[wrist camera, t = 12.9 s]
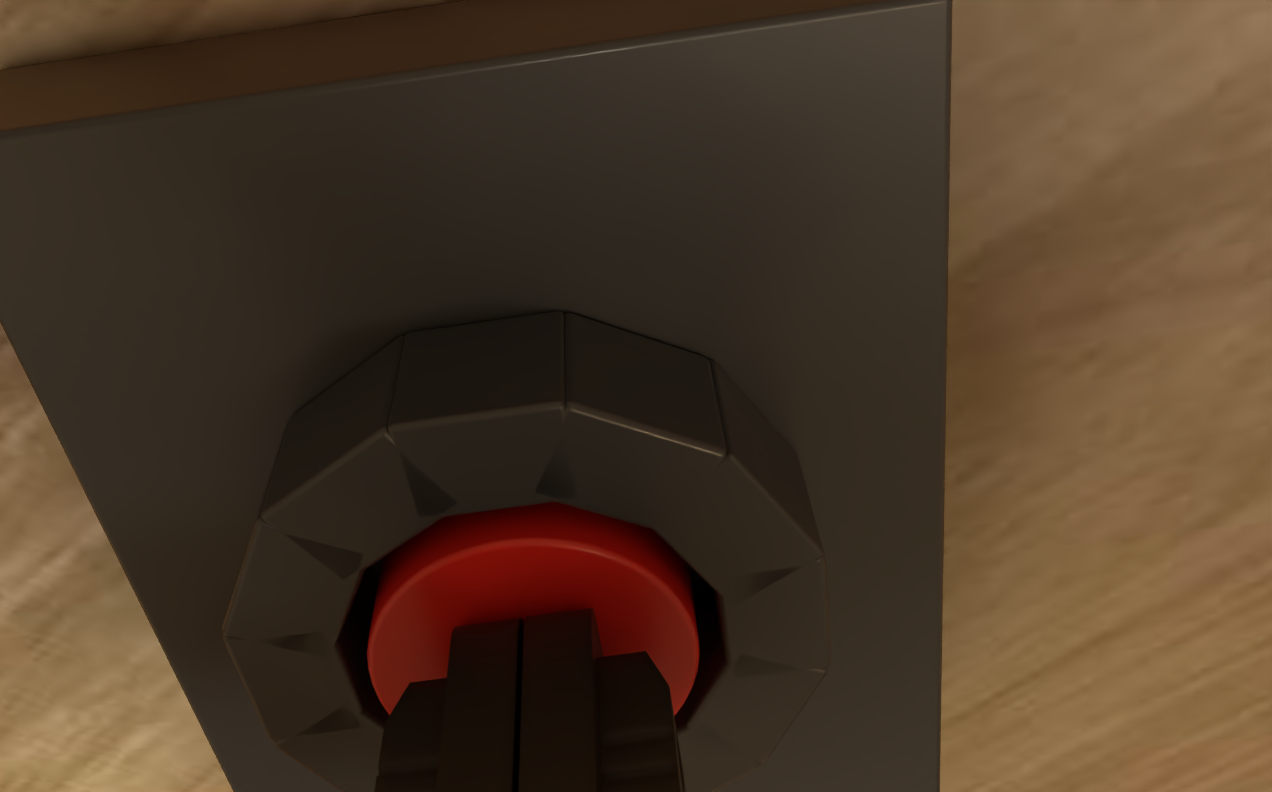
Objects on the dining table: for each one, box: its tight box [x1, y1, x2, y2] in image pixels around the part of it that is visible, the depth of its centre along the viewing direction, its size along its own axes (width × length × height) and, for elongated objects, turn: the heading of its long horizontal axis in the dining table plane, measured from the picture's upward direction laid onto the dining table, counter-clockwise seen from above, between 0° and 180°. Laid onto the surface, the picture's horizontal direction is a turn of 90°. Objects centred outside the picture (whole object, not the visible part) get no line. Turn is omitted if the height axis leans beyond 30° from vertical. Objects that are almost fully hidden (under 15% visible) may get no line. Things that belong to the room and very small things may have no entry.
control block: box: [0, 0, 952, 792], centre depth 15 cm, size 12×10×4 cm
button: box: [367, 502, 700, 716], centre depth 14 cm, size 4×4×2 cm
